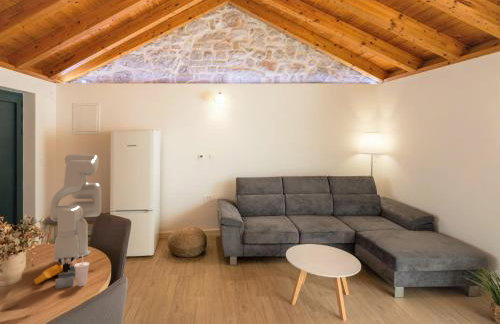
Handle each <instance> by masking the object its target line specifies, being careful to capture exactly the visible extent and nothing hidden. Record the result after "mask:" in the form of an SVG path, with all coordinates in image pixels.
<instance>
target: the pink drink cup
mask: <svg viewBox="0 0 500 324" xmlns="http://www.w3.org/2000/svg"><path fill="white" fill-rule="evenodd" d="M89 267H90V262H88V261H84V256H83V255H82V257H81V262H76V264H75V265H74V268H75V272H76V275H75V279H76V286H77V287H83V286H87V283H88V282H87V281H88V275H89Z"/></svg>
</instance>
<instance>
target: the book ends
mask: <svg viewBox="0 0 500 324" xmlns="http://www.w3.org/2000/svg"><path fill="white" fill-rule="evenodd" d="M57 276H58V278H56V279H55V280H54V281H55V283H54V287H55V289H64V288H70V287H74V285H75V279H76V272H75V268H74V266H70V270H68V272H65V273H64V271H61V272H59V274H57Z"/></svg>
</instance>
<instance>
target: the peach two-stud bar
mask: <svg viewBox="0 0 500 324" xmlns="http://www.w3.org/2000/svg"><path fill="white" fill-rule="evenodd" d="M65 262H66V264H67V262H68V258H65ZM75 264H77V259H75V260H73V261H72V262H71V263H70V266H74V265H75Z"/></svg>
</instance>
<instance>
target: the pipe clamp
mask: <svg viewBox="0 0 500 324" xmlns="http://www.w3.org/2000/svg"><path fill="white" fill-rule="evenodd" d="M61 271H63V265H62V264H60V265H58V264H54V265H53V266H51V267H49V268H46V269H45V270H43V271H42V272H41V274H40V275H38V276H37V277H36V278H34V279H33V281H34V283H35V284H36V285H39V284H41V283H43V282H45V281H47V280H49V279H52V278H54V277H56V276H58V275H59V272H61Z"/></svg>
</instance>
